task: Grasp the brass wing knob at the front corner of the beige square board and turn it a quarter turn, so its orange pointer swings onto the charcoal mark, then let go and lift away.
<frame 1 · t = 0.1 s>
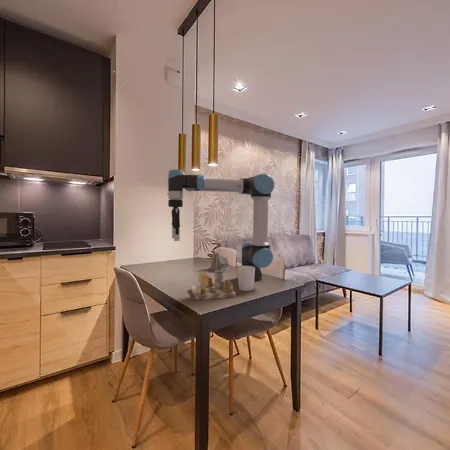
hand: (175, 239, 135), 28 cm above the table, fingers open, 13 cm apart
beige square board: (212, 292, 134), on the table
wing knob: (203, 283, 126), point 7 cm above the table, hinge at 0.0°
candle holder: (246, 289, 142), on the table
ceramic cottage: (221, 269, 190), on the table
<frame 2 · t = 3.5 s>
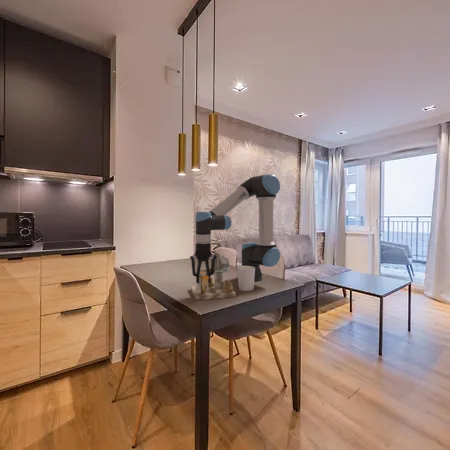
hand: (203, 289, 127), 4 cm above the table, fingers closed on wing knob, 3 cm apart
wing knob: (203, 283, 126), point 7 cm above the table, hinge at 0.1°, touching gripper
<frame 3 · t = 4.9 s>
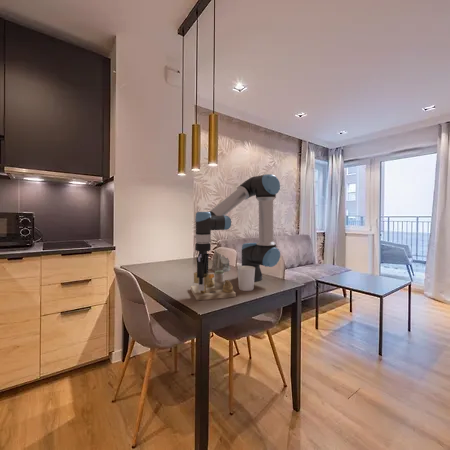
hand: (202, 288, 127), 4 cm above the table, fingers closed on wing knob, 4 cm apart
wing knob: (203, 283, 127), point 7 cm above the table, hinge at 45.2°, touching gripper
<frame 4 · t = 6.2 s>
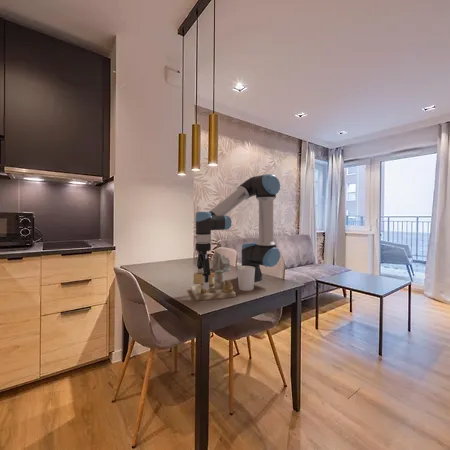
hand: (203, 284, 127), 6 cm above the table, fingers open, 13 cm apart
wing knob: (204, 283, 127), point 7 cm above the table, hinge at 71.0°
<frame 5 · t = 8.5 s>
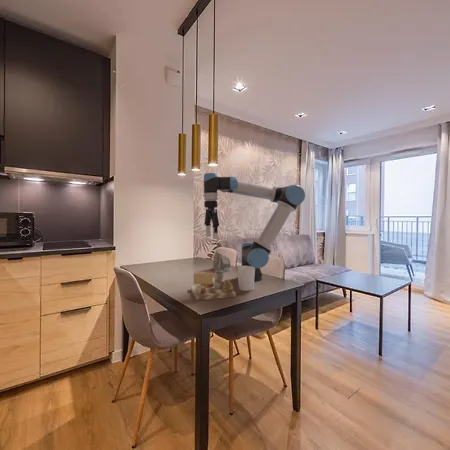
hand: (211, 237, 146), 28 cm above the table, fingers open, 13 cm apart
wing knob: (204, 283, 127), point 7 cm above the table, hinge at 71.4°
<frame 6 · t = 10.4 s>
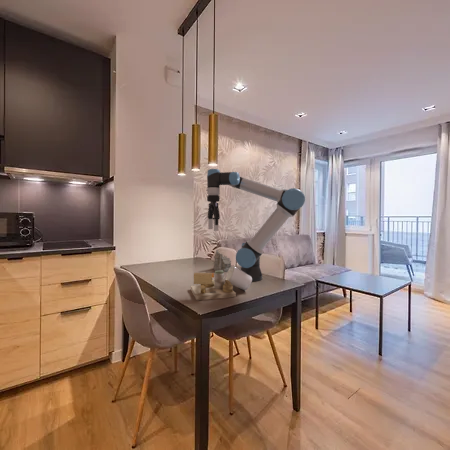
hand: (213, 230, 155), 32 cm above the table, fingers open, 13 cm apart
candle holder: (248, 283, 140), point 3 cm above the table, touching beige square board
at the end: wing knob at +71° (first picture: +0°); the gripper is holding nothing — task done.
